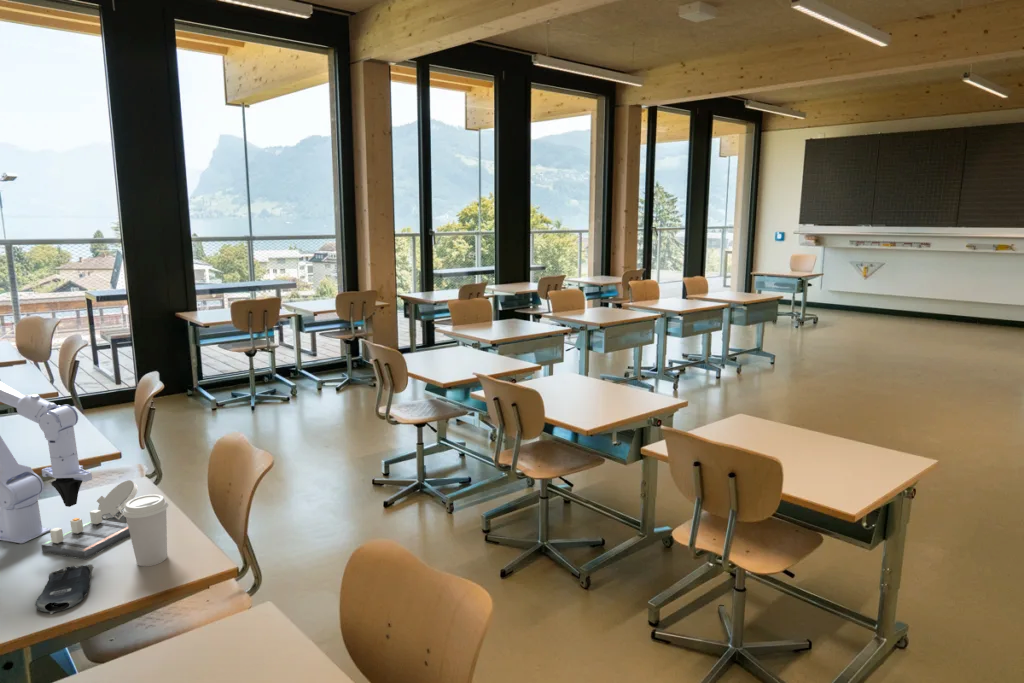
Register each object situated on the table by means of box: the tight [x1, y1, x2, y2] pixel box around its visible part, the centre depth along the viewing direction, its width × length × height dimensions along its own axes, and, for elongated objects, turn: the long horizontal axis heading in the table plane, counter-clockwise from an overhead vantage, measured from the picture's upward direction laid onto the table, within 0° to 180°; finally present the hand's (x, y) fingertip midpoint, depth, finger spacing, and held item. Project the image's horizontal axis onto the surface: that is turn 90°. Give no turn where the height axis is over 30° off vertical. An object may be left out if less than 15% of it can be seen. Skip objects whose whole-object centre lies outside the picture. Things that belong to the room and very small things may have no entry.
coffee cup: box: [122, 493, 169, 567], centre depth 160 cm, size 10×10×15 cm
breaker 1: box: [49, 527, 64, 543], centre depth 167 cm, size 2×2×3 cm
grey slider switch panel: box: [40, 519, 131, 560], centre depth 171 cm, size 14×15×2 cm
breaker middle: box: [69, 517, 84, 533], centre depth 172 cm, size 2×2×4 cm
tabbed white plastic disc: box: [96, 479, 139, 520], centre depth 189 cm, size 15×8×11 cm, turn 47°
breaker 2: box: [89, 509, 103, 524], centre depth 177 cm, size 2×2×3 cm
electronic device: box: [35, 564, 94, 615], centre depth 147 cm, size 9×6×15 cm
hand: (71, 505), depth 171 cm, fingers closed
